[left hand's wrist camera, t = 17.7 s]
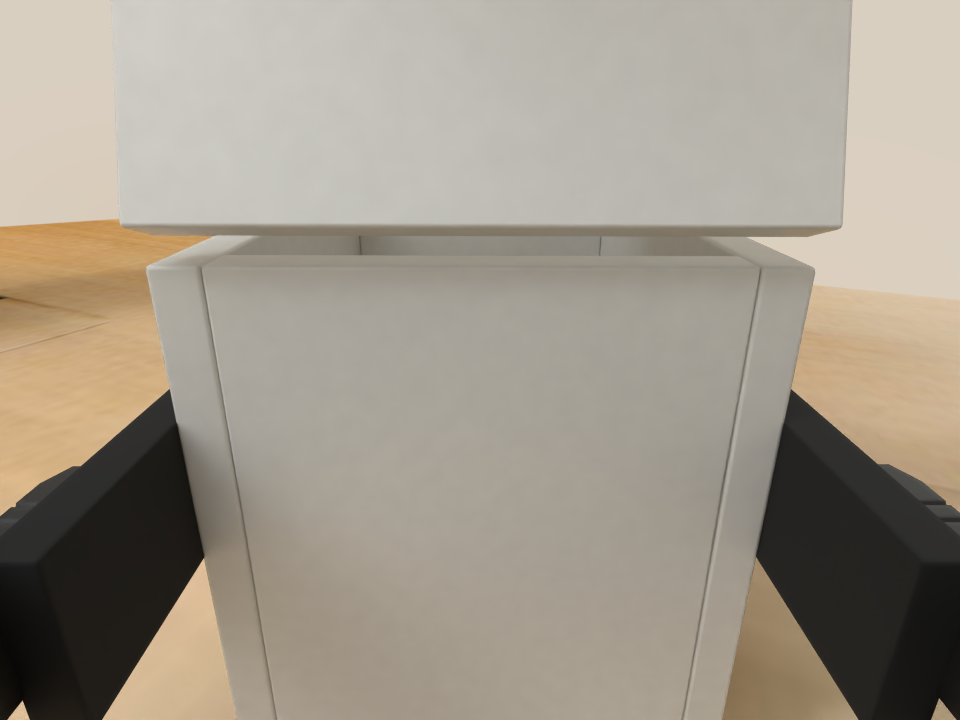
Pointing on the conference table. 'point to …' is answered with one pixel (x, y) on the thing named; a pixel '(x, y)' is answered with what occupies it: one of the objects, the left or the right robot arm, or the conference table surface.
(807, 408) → the left robot arm
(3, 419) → the conference table surface
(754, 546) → the chest
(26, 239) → the conference table surface
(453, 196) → the lid
